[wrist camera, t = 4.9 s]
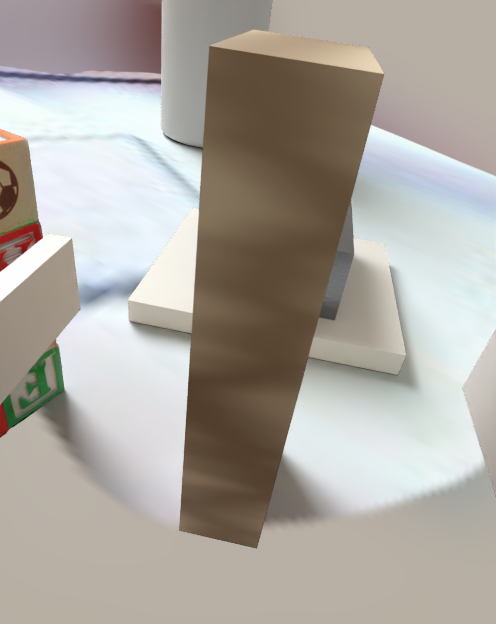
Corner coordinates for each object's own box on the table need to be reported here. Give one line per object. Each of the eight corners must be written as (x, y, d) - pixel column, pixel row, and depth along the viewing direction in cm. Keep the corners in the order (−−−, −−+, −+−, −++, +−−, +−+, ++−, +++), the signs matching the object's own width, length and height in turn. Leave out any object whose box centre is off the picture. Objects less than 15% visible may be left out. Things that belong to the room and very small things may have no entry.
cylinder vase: (210, 157, 53) (231, -135, 39) (141, 129, 59) (136, -134, 44) (273, 142, 62) (309, -103, 47) (206, 119, 67) (221, -105, 53)
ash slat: (179, 530, 17) (208, 45, 8) (209, 428, 21) (253, 29, 12) (256, 548, 17) (384, 74, 7) (272, 441, 21) (368, 47, 12)
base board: (128, 320, 27) (127, 300, 26) (191, 224, 38) (192, 208, 37) (397, 374, 26) (406, 355, 25) (379, 260, 37) (385, 243, 36)
